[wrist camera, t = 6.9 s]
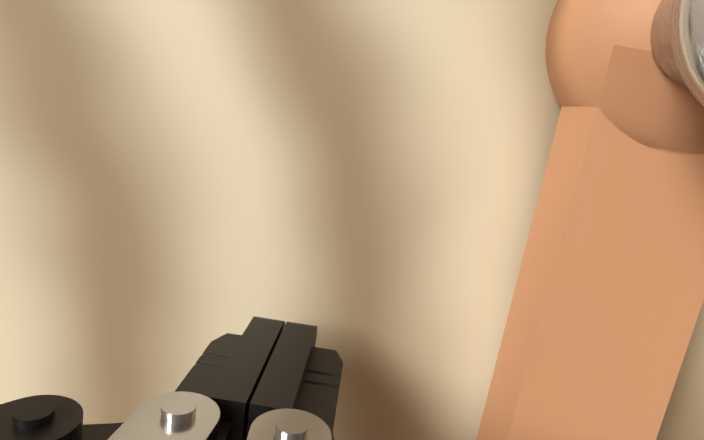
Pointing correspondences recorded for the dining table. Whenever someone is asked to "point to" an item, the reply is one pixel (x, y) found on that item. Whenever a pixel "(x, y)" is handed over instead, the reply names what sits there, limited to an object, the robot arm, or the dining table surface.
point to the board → (275, 197)
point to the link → (605, 241)
